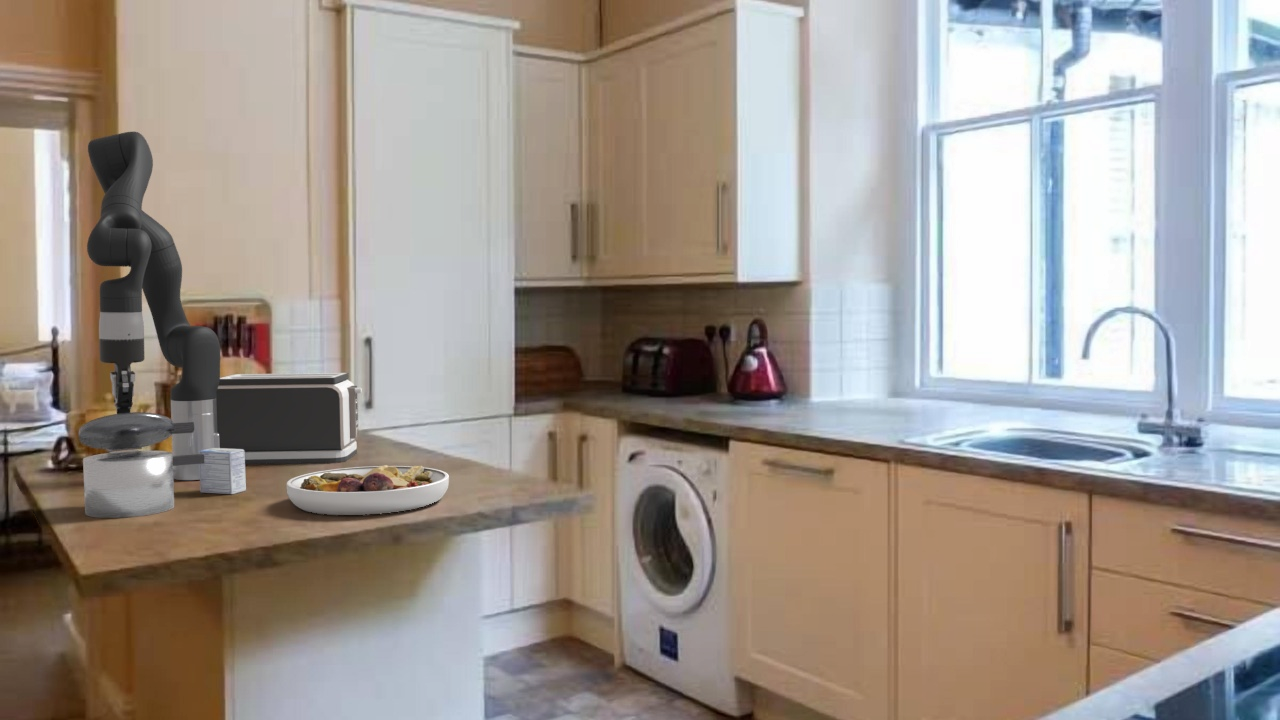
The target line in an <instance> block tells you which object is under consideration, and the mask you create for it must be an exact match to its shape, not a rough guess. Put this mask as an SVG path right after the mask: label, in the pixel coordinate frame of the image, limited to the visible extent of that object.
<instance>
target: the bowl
mask: <svg viewBox="0 0 1280 720" xmlns="http://www.w3.org/2000/svg"><path fill="white" fill-rule="evenodd" d="M449 484H450V476H449V474H448V473H447V472H446V471H443V470H440V469H437V468H430V467H425V466H423V465H413V466H409V465H407V466H405V465H387V464H384V465H379V466H378V465H375V466H373V465H372V466H354V467H345V468H334V469H328V470H319V471H314V472H309V473H305V474H301V475H298V476H295V477H292V478H290V479H289V480H288V481H287V482H286V492H287V496H288V498H289V500H290V501H291V503H292V504H294V506H296V507H297V508H299V509H300V510H303V511H305V512H309V513H311V512H312V514H316V513H317V514H318V515H324V514H327V515H326V516H338V515H363V516H366V515H365V514H380V513H389V512H397V511H404V510H410V509H415V508H419V507H423V506H426V505H429V504H431V505H433V504H435V503H436V502H438V501H439V500H441V498H443V497H444V496H445V494H446V492H447V490H448V488H449ZM434 502H435V503H434ZM432 503H433V504H432ZM429 506H430V505H429ZM426 507H427V506H426ZM423 508H424V507H423ZM419 509H420V508H419ZM415 510H416V509H415ZM410 511H411V510H410ZM404 512H405V511H404ZM380 515H381V514H380Z"/></svg>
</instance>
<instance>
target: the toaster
mask: <svg viewBox="0 0 1280 720" xmlns="http://www.w3.org/2000/svg"><path fill="white" fill-rule="evenodd" d="M349 377H350V376H349V372H319V373H318V372H312V373H311V372H310V373H303V372H302V373H301V372H300V373H298V372H297V373H238V374H237V373H235V374H231V375H227V376H223V377H221V376H220V382H219V386H218V388H217V392H216V404H217V433H219V439H220V448H227V449H243V450H244V455H245V466H247V465H249V466H251V465H252V466H255V465H256V466H257V465H258V466H259V465H299V464H300V465H305V464H309V465H310V464H339V463H346V462H347V461H349V460H350V459H351V458H352V457H354V456H355V455H357V453H358V446H357V441H356V440H357V438H358V427H359V415H358V411H359V410H358V394H362V393H363V389H362V387H358V386H357V385H355V384H354V383H353V381H351V380H349Z"/></svg>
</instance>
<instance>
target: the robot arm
mask: <svg viewBox="0 0 1280 720" xmlns="http://www.w3.org/2000/svg"><path fill="white" fill-rule="evenodd" d="M87 152H88V157H89V161H90V163H91V166H92V168H93V171H94V174H95V175H96V177H97V180H98V182H99V184H100V186H101V189H102V190H103V193H104V196H103V198H102V200H101V206H100V218H99V220H98V222H97V223H96V225H94V227H93V229H92V230H91V233H89V237H88V240H87V243H86V244H87V245H86V251H87V255H88V257H89V259H90V260H91V261H92V263H95V264H96V265H97V266H99V267H129V268H130V270H129V273H128V274H126V275H125V276H123V277H119V278H114V279H113V278H112V279H108V280H104V281H102V282H101V283H100V285H99V321H98V339H99V340H98V343H99V345H98V346H99V348H98V349H99V361H100V362H101V363H103V364H113V365H114V368H113V369H114V371H110V373H109V376H110V381H111V393H112V396H113V397H114V399H113V403H114V407H115V409H116V414H120V413H131V410H132V408H133V404H134V403H133V397H134V395H135V386H134V385H135V382H136V372H135V371H134V370H132V369H131V365H132V364H133V363H134V364H135V363H136V364H137V363H141V362H144V361H145V325H144V317H143V296H145V300H146V302H147V305H148V308H149V310H150V314H151V317H152V318H151V319H152V321H153V325H154V328H155V329H154V330H155V332H156V337H157V340H158V344H159V347H160V350H161V353H162V355H163V357H164V359H165V360H166V362H167V363H168V364H170V365H172V367H173V366H174V367H176V368H180V369H182V371H181V378H180V381H179V382H177V384H175V385H173V386H172V387H171V389H170V412H171V413H170V416H171V417H170V419H171V420H172V421H173V423H187V422H194V432H193V433H180V434H172V435H171V444H172V445H171V447H172V448H171V450H172V451H171V453H172V454H173V456H180V455H193V454H199V452H200V451H202V450H206V449H211V448H220V439H219V433H217V404H216V392H217V388H218V386H219V382H220V378H221V345H220V340H219V338H218V335H217V334H216V332H215V331H214V330H212V328H210V327H207V326H202V325H190V321H188V318H187V316H186V313H185V311H184V308H183V305H182V299H181V289H182V281H183V264H182V260H181V257H180V254H179V252H178V249H177V246H176V244H175V241H174V239H173V236H172V235H171V233H170V232H169V231H168V230H167V229H166V228H165V227H164V226H163V225H162V224H161V223H159V222H158V221H157V220H156V219H155V218H153V217H152V216H150V215H149V214H148V213H146V212H145V211H144V210H143V207H142V206H143V200H144V197H145V193H146V191H147V189H148V186H149V183H150V179H151V176H152V172H153V166H154V161H153V160H154V159H153V155H152V151H151V148H150V146H149V143H148V142H147V140H146V138H145V137H144V135H142V133H140V132H138V131H126V132H125V131H124V132H122V133H121V132H120V133H117V134H116V133H115V134H112V135H107V136H104V137H99V138H94V139H92V140H90V141H89V142H88V144H87ZM143 294H144V295H143ZM173 480H177V481H178V480H179V481H196V480H199V481H200V464H190V465H178V466H173Z"/></svg>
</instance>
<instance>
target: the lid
mask: <svg viewBox="0 0 1280 720" xmlns="http://www.w3.org/2000/svg"><path fill="white" fill-rule="evenodd" d="M193 432H194V422H187V423H173V421H172V420H171V417H168V416H165V415H163V414H158V413H153V412H137V411H136V412H130V413H120V414H117V413H114V414H108V415H104V416H101V417H97V418H94V419H92V420H89V421H88V422H86V423H84V424H83V425H82V426H80V427H79V429H78V441H79V442H80V443H81V444H82V445H84V446H86V447H90V448H93V449H98V450H106V452H116V451H130V450H142V448H143V447H148V446H152V445H156V444H159V443H161V442H164V441H166V440H168V439H169V438H170V437H172V434H180V433H193Z"/></svg>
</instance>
